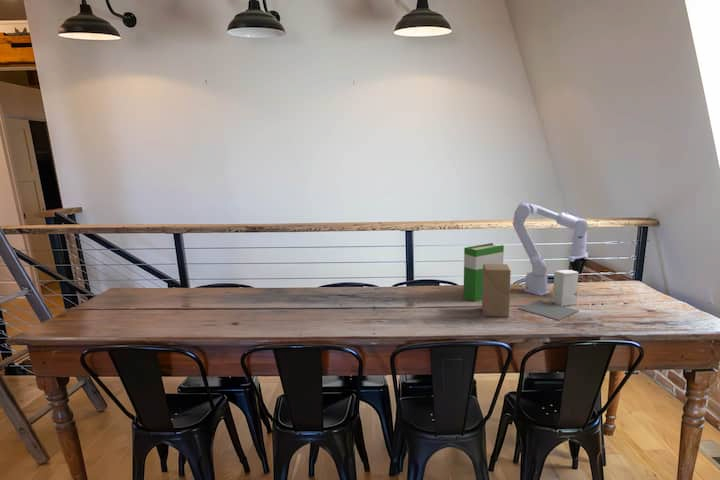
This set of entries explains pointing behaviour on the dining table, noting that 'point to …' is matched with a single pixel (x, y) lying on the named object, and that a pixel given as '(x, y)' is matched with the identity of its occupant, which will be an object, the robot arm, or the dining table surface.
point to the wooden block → (496, 290)
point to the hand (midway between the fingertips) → (577, 274)
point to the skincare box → (565, 287)
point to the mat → (549, 310)
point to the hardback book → (479, 267)
